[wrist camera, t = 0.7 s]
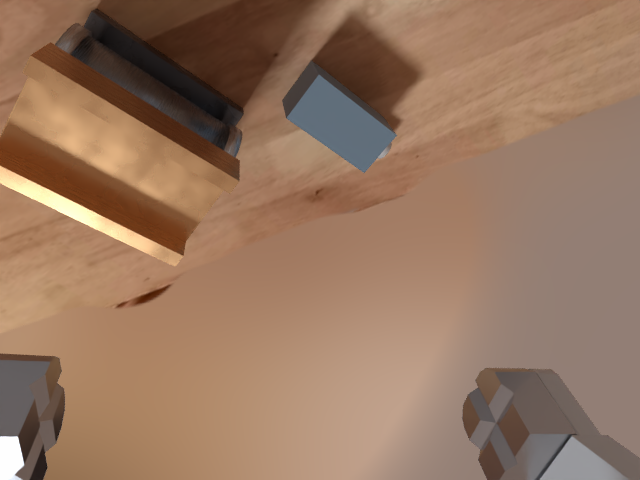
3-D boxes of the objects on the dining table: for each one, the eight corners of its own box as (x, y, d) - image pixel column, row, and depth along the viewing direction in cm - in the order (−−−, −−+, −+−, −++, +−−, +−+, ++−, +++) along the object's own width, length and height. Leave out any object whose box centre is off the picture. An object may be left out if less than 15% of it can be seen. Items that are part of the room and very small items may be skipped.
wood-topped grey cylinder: (96, 8, 39) (34, 46, 27) (243, 108, 45) (244, 174, 33) (45, 107, 42) (-28, 178, 31) (187, 187, 48) (171, 272, 37)
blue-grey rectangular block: (311, 59, 43) (318, 74, 39) (395, 126, 48) (409, 145, 44) (282, 100, 45) (286, 118, 41) (366, 160, 50) (377, 182, 45)
